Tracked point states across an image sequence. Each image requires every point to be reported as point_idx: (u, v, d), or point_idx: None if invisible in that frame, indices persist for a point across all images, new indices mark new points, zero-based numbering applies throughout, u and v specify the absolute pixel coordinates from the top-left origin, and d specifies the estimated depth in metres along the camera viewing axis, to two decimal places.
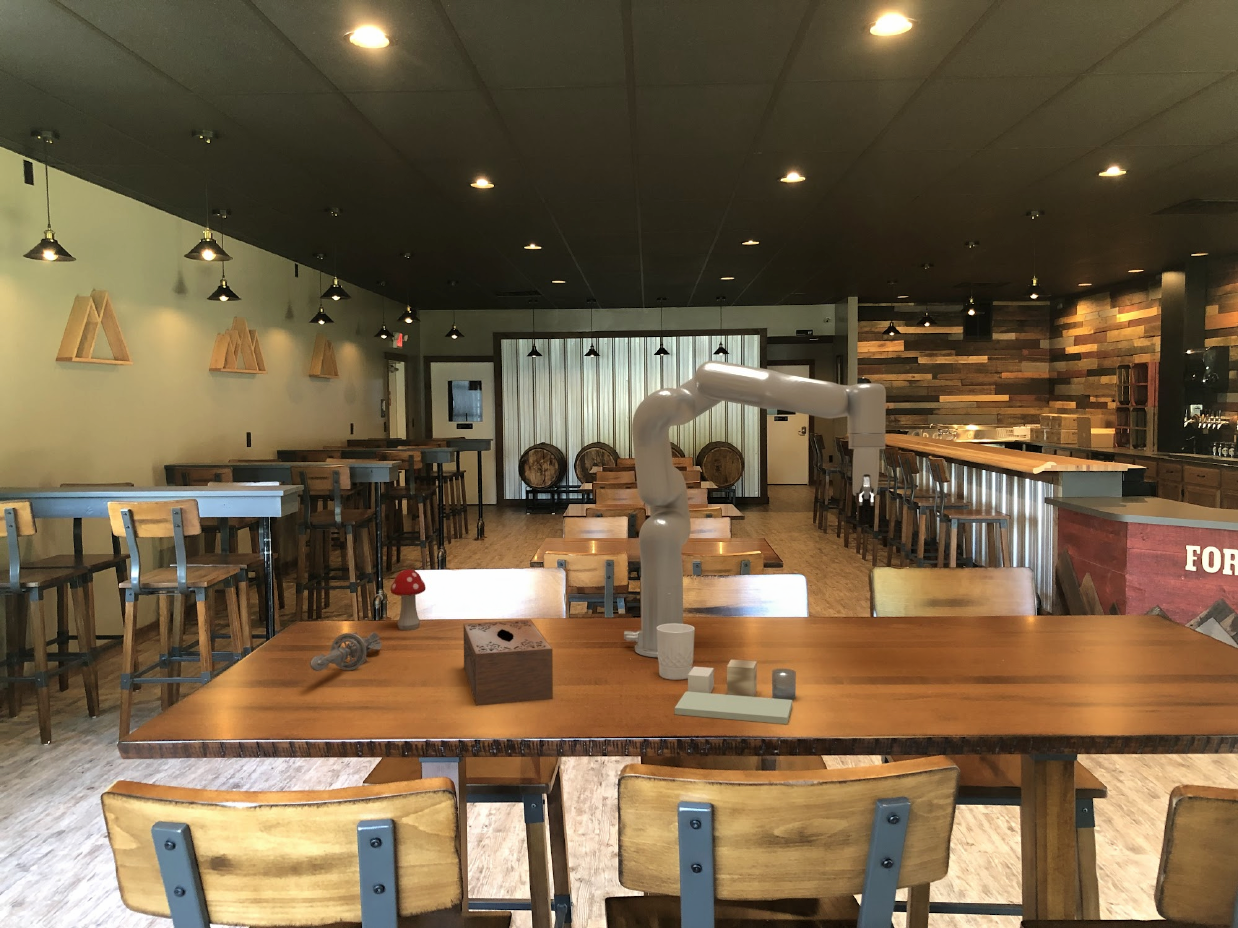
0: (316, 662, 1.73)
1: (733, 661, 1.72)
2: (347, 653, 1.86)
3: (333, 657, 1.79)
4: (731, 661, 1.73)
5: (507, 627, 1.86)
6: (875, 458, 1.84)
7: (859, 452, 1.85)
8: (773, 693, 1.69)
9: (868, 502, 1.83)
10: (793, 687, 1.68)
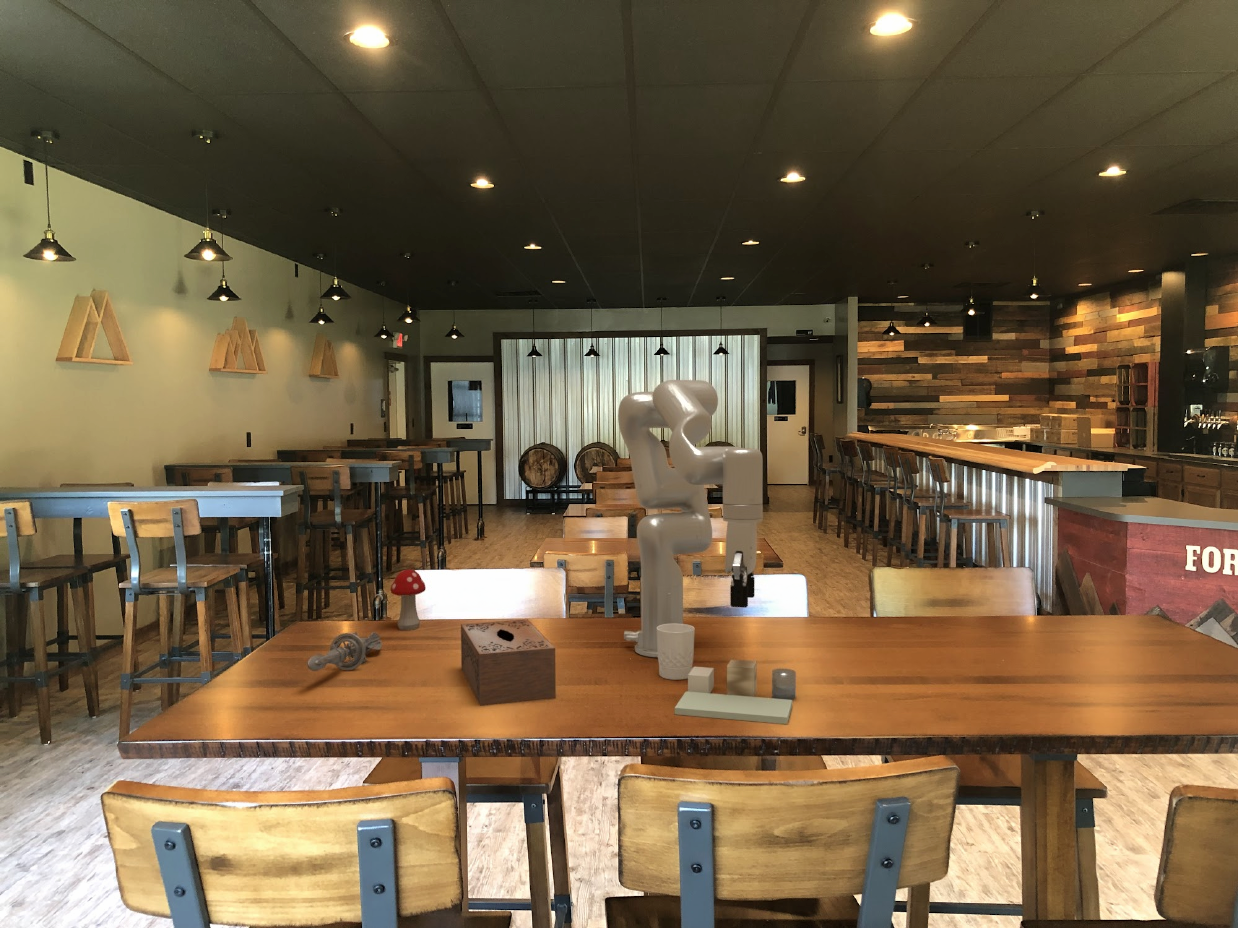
0: (313, 662, 1.73)
1: (733, 662, 1.72)
2: (346, 653, 1.86)
3: (331, 657, 1.79)
4: (731, 661, 1.73)
5: (506, 627, 1.86)
6: (748, 533, 1.65)
7: (731, 525, 1.66)
8: (773, 693, 1.69)
9: (739, 582, 1.64)
10: (793, 687, 1.68)
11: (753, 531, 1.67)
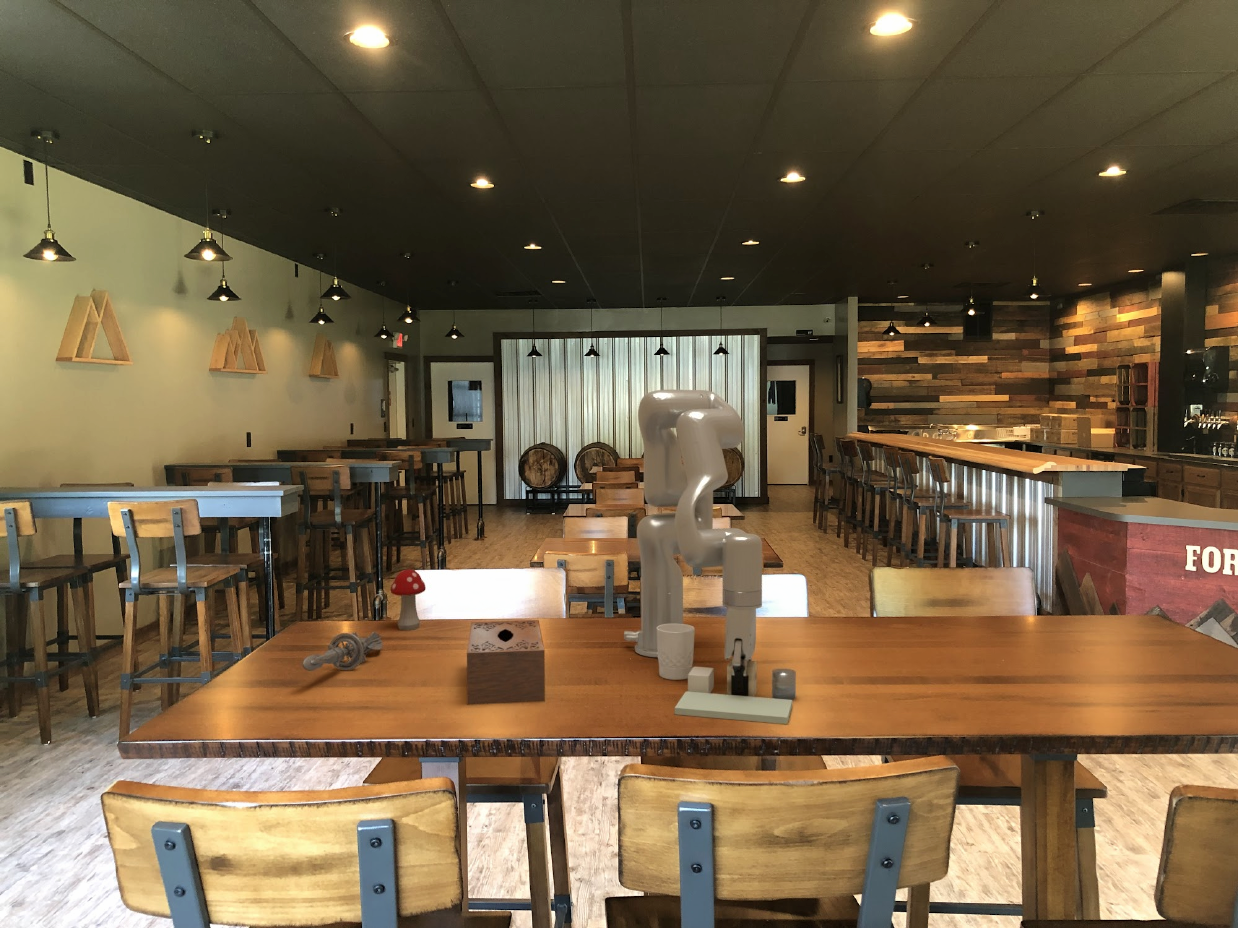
0: (309, 662, 1.73)
1: None
2: (343, 653, 1.86)
3: (327, 657, 1.79)
4: (731, 661, 1.73)
5: (511, 627, 1.86)
6: (748, 620, 1.66)
7: (730, 612, 1.67)
8: (773, 693, 1.69)
9: (740, 673, 1.67)
10: (793, 687, 1.68)
11: (752, 617, 1.68)
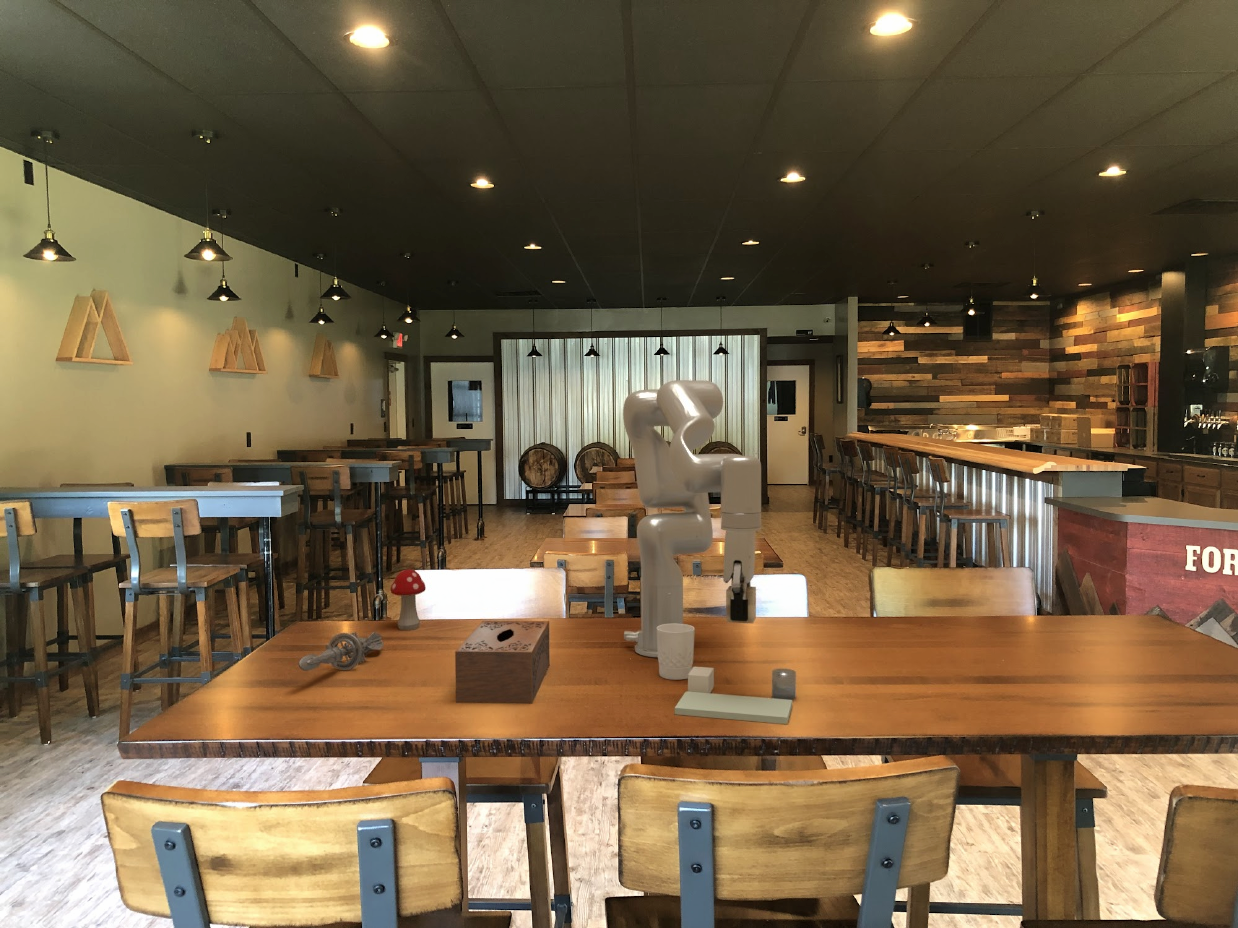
0: (305, 662, 1.73)
1: None
2: (342, 653, 1.86)
3: (325, 657, 1.79)
4: (730, 587, 1.70)
5: (517, 627, 1.86)
6: (747, 542, 1.63)
7: (729, 534, 1.64)
8: (773, 693, 1.69)
9: (740, 596, 1.63)
10: (793, 687, 1.68)
11: (752, 540, 1.65)
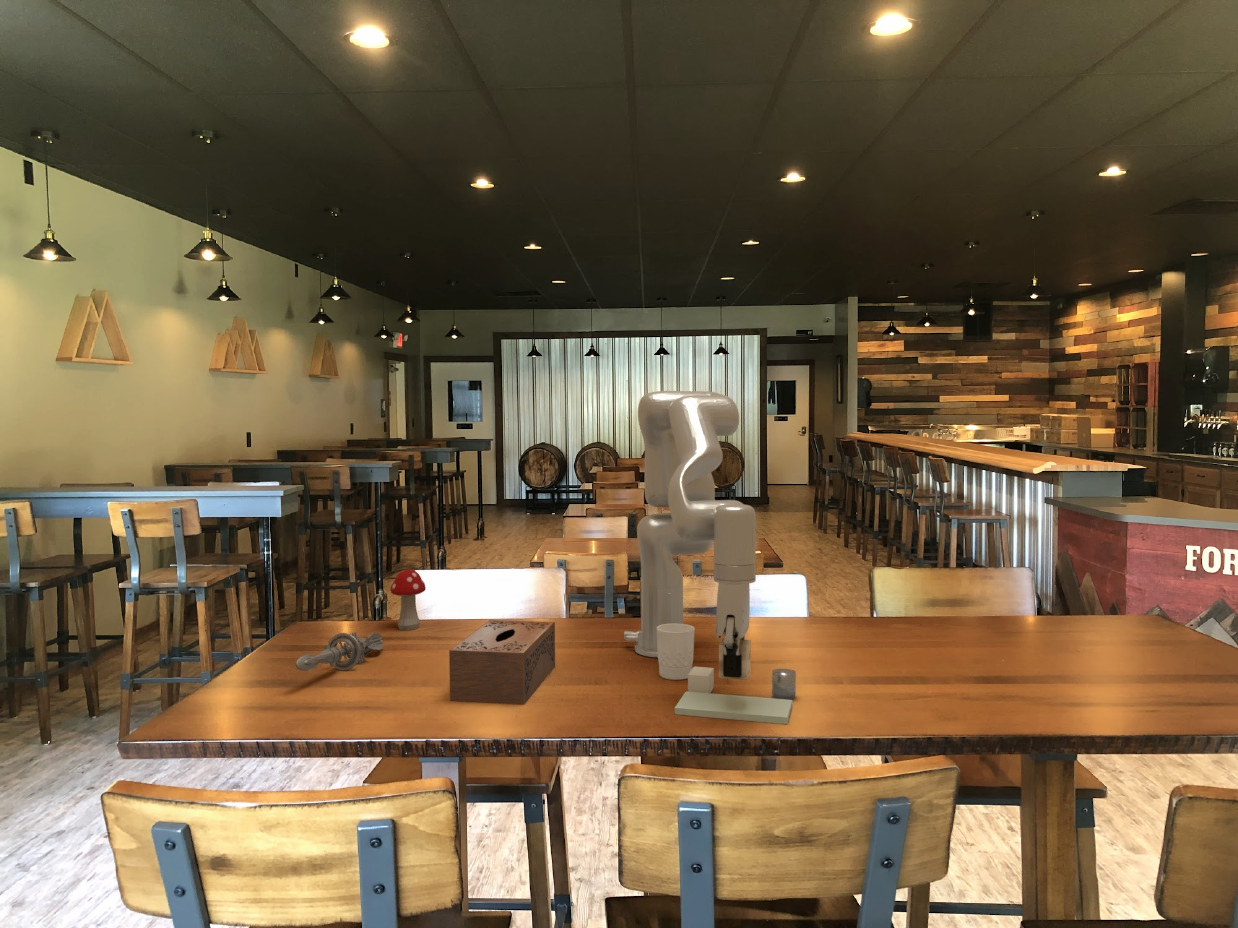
0: (302, 662, 1.74)
1: None
2: (340, 653, 1.86)
3: (323, 657, 1.79)
4: (723, 640, 1.63)
5: (520, 627, 1.85)
6: (740, 595, 1.56)
7: (722, 587, 1.57)
8: (773, 693, 1.69)
9: (733, 652, 1.57)
10: (793, 687, 1.68)
11: (745, 593, 1.58)
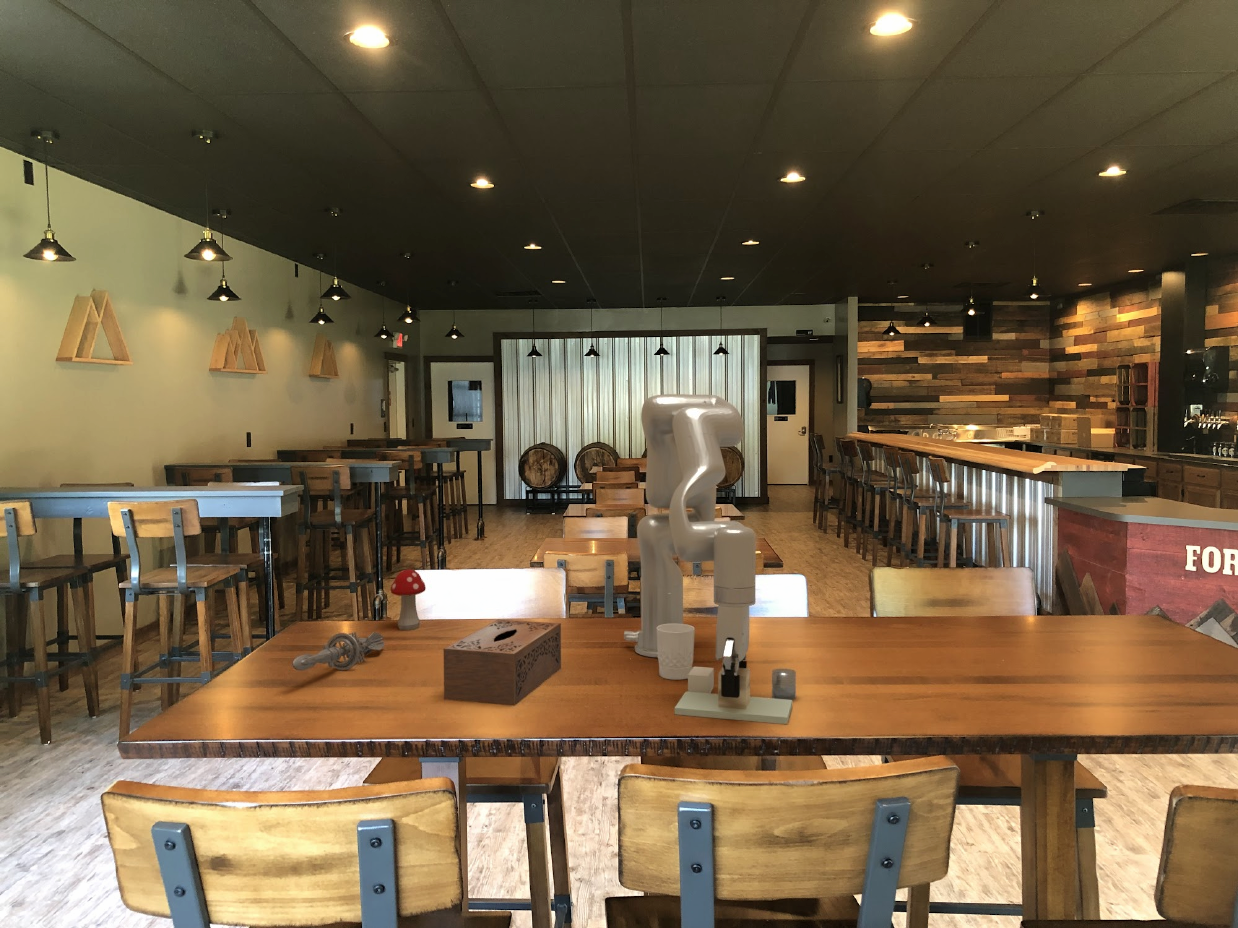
0: (299, 661, 1.74)
1: None
2: (339, 653, 1.86)
3: (320, 657, 1.79)
4: None
5: (524, 628, 1.85)
6: (740, 618, 1.56)
7: (722, 610, 1.57)
8: (773, 693, 1.69)
9: (731, 672, 1.55)
10: (793, 687, 1.68)
11: (745, 615, 1.58)
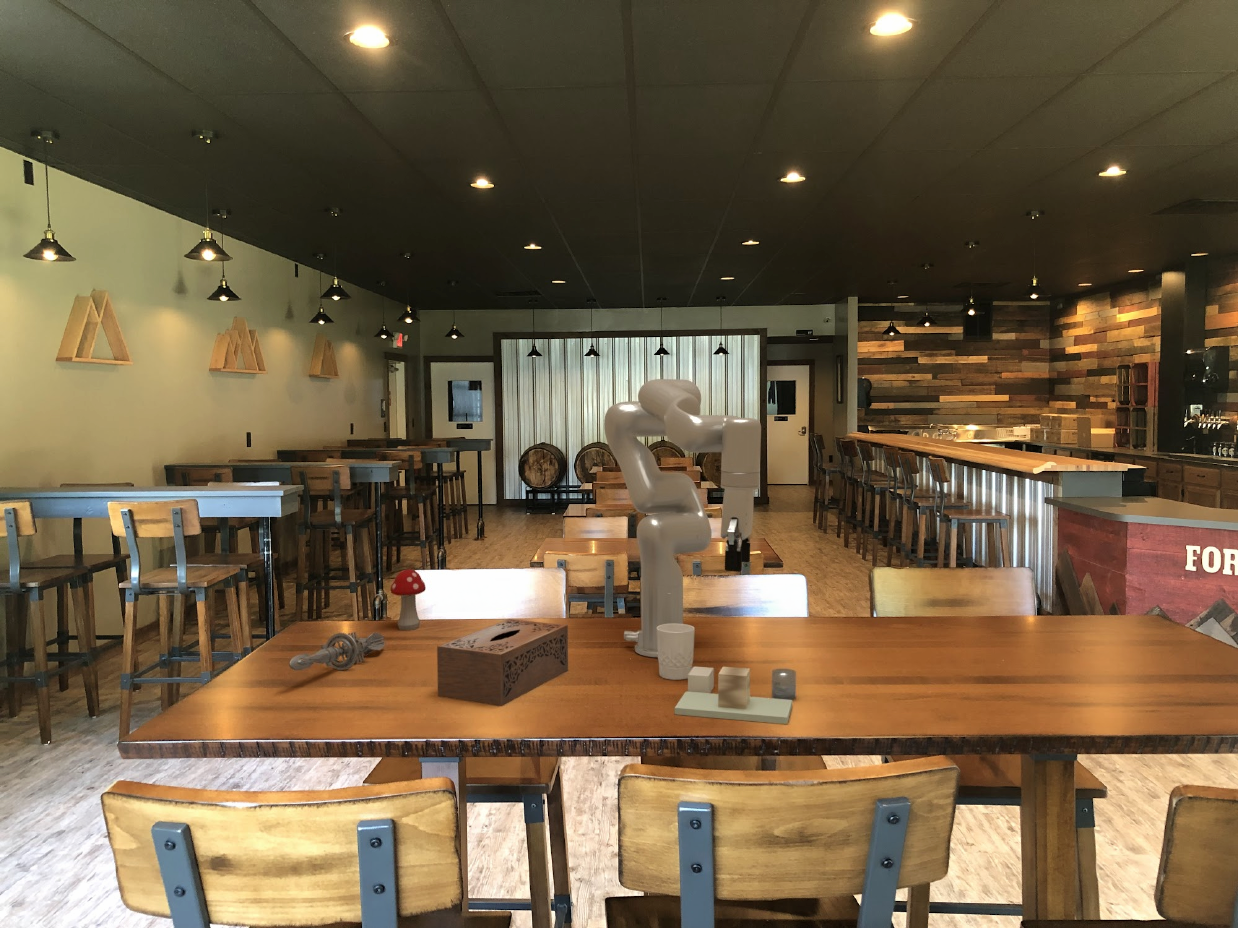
0: (296, 661, 1.74)
1: (725, 669, 1.63)
2: (337, 653, 1.86)
3: (318, 657, 1.80)
4: (723, 668, 1.63)
5: (528, 628, 1.84)
6: (744, 500, 1.71)
7: (727, 492, 1.71)
8: (773, 693, 1.69)
9: (734, 547, 1.70)
10: (793, 687, 1.68)
11: (749, 498, 1.72)
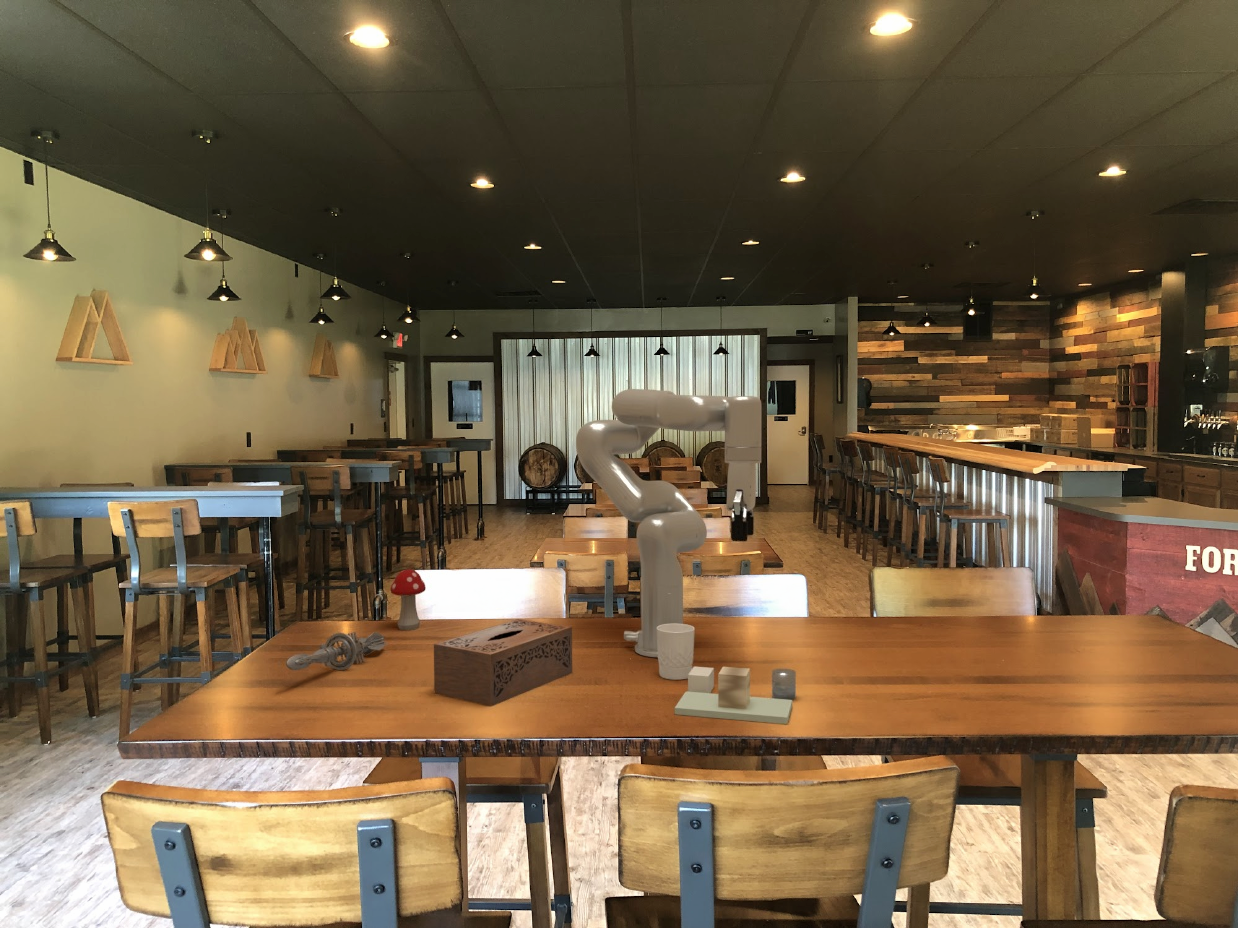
0: (293, 661, 1.74)
1: (725, 669, 1.63)
2: (336, 653, 1.86)
3: (316, 657, 1.80)
4: (723, 668, 1.63)
5: (531, 629, 1.84)
6: (748, 473, 1.80)
7: (732, 466, 1.80)
8: (773, 693, 1.69)
9: (740, 518, 1.78)
10: (793, 687, 1.68)
11: (752, 472, 1.81)
